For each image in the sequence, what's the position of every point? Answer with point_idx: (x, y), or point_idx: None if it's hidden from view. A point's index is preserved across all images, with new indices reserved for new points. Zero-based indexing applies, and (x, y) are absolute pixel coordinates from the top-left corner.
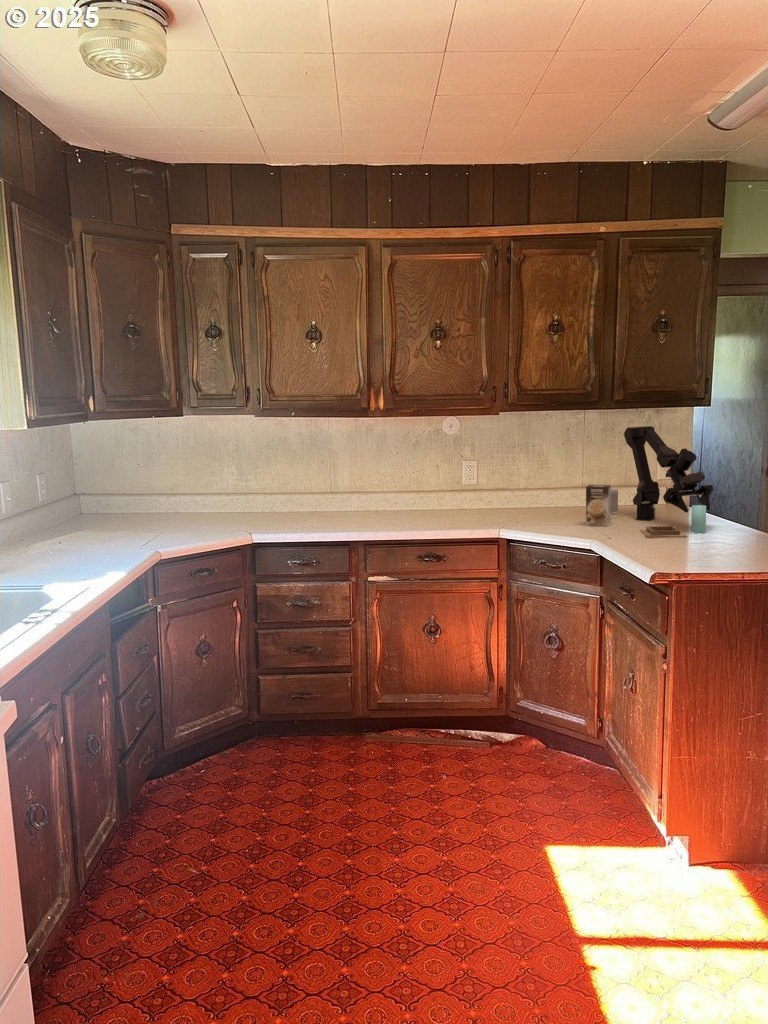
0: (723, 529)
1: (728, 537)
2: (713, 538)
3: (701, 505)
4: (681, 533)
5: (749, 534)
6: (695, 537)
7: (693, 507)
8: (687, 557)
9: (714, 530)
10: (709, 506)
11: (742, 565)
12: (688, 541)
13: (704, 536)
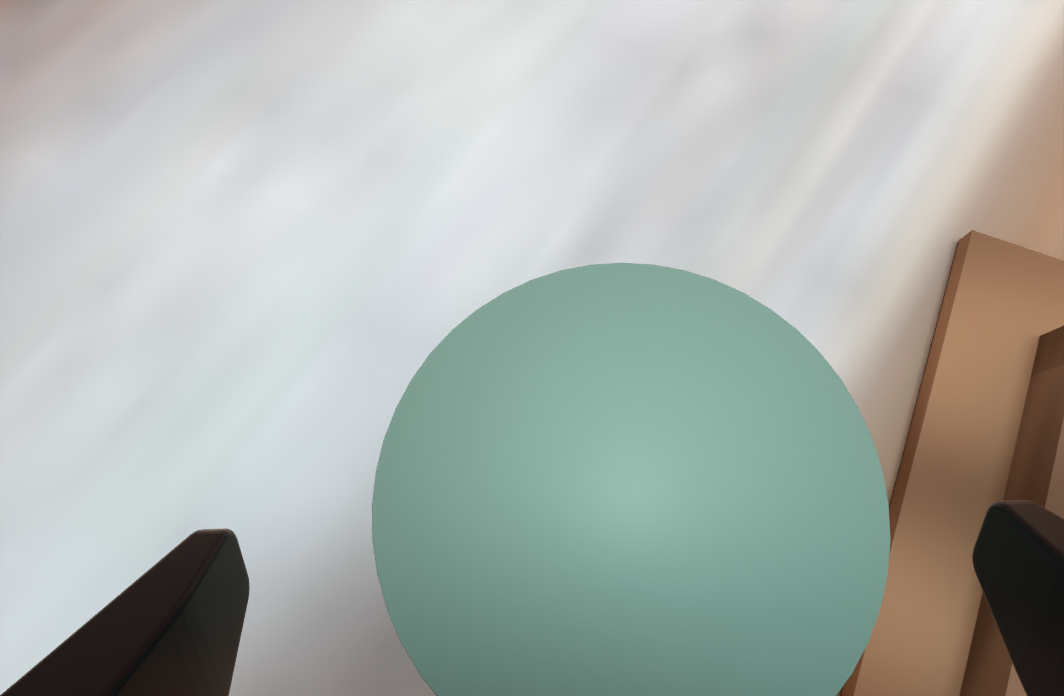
0: (57, 581)
1: (442, 34)
2: (656, 55)
3: (497, 536)
4: (961, 434)
5: (61, 87)
6: (839, 204)
7: (864, 475)
8: None
9: None
10: (150, 574)
11: None
12: (1058, 22)
13: (684, 213)
